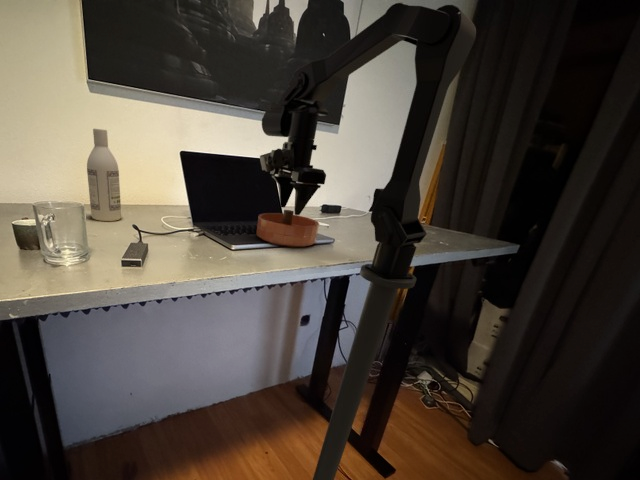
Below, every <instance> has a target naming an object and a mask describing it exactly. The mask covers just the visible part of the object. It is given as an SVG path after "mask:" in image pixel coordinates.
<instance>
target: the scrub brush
mask: <svg viewBox="0 0 640 480" xmlns="http://www.w3.org/2000/svg"><path fill="white" fill-rule="evenodd" d="M282 213H283V219H282V224H286V225H292V219H293V215H294V214H295V210H290V209H284V210H283V212H282Z"/></svg>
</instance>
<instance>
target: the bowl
mask: <svg viewBox="0 0 640 480" xmlns="http://www.w3.org/2000/svg"><path fill="white" fill-rule="evenodd" d="M282 219H283V212H281V213H280V212H266V213H265V212H263V213H260V214H258V218H257V225H256V234H255V235H256V236H257V237H258V238H259V239H261V240H262V241H264V242H267V243H269V244H272V245H276V246H281V247H290V248H304V247H308V246H312V245H314V244H315V243H316V242H317V238H318V233H319V227H320V222H319V221H317V220H315V219H312V218H309V217H307V216H303V215H295V214H293V219H292V225H286V224H282Z"/></svg>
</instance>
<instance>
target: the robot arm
mask: <svg viewBox="0 0 640 480" xmlns="http://www.w3.org/2000/svg"><path fill="white" fill-rule="evenodd" d="M476 38H477V28H476V25H475V24H474V22H473V21H472V20H471V19H470V18H469V17H468V16H467V15H466V14H465V13H464V12H463V11H462V10H461V9H460V8H459V6H456V5H454V4H445V5H442V6H439V7H437V8H436V9H435V8H430V7H426V6H423V5H409V4H406V3H405V2H396V3H394V4H391V5H390V6H389V7H388V8H387V10H386V12H385V13H384V14H383V15H381V16H380V17H378V18H377V19H376V20H374V21H373V22H372V23H371V24H369V25H368V26H367V27H365V28H364V29H363V30H361V31H360V32H359V33H357V34H356V35H354V36H353V37H352V38H350V40H348V41H347V42H345V43H344V44H343V45H341V46H340V47H338V48H337V49H336V50H334V51H333V52H332V53H331V54H330V55H328V56H326V57H324V58H323V57H322V58H319V59H316V60H311V61H310V62H309V61H308V63H306V64H304V65H302V66H300V67H298V68H297V69H296V70H295V71H294V73H293V74H292V78H291V80H290V81H289V83H288V85H287V87H286V88H285V90H284V92H283V93H282V95H281V97H280V99H279V100H278V102H270V105H269V109H267V110H266V111H265V112H264V114H263V116H262V118H261V128H262V131H263V133H264V134H265V135H266V136H268V137H278V138H279V137H280V138H287V141H284V142H283V144H282V148H279V147H278V148H276V149H272V150H270V152H266V153H264V154H261V155H259V160H260V166H261V170H262V171H265V172H267V173H269V174H270V175H271V178H272V179H273V180H274V181H275V183H277V188H278V197H279V205H280V208H286V206H287V204H288V202H289V200H290V197H291V195H292V193H293V191H295V193H294V215H298V216H301V213H302V212H303V211H304V209H305V208H306V206H307V204H308V203H309V202H310V200H311V199H312V197H314V195H315V194H316V192H317V191H318V189H321V187H322V185H325V183H326V178H327V173H326V172H325V170H324V169H321V168H315V167H314V165H313V164H311V162H312V156H313V151H317V147H318V145H317V144H315V138H316V134H317V133H316V132H317V127H318V121H319V116H320V117H322V116H323V117H324V116H326V117H327V116H328V115H329V111H328V110H327V109H326V107H325V106H324V102H323V101H325V100H326V99H327V98H329V96H331V94H332V93H334V92H335V90H336V88H337V86H338V84H339V83H340V82H342V81H343V80H344V79H346V78H347V77H348V76H350V75H351V74H353V73H354V72H356V71H357V70H359V69H360V68H362V67H363V66H365V65H366V64H368V63H370V62H371V61H373V60H374V59H376V58H377V57H378V56H380V55H381V54H383V53H385V52H386V51H387V50H389V49H391V48H393V47H394V46H395V45H397V44H398V43H400V42H405V43H409V44H411V45H413V46H415V53H414V70H415V88H414V91H413V95H412V99H411V103H410V107H409V110H408V113H407V117H406V121H405V124H404V128H403V132H402V136H401V139H400V143H399V147H398V150H397V154H396V158H395V161H394V165H393V169H392V173H391V176H390V178H389V181H388V182H387V183H386V185H385V186H384V187H383V188H375V189H374V192H373V197H372V203H371V206H370V208H369V209H368V213H370V223H371V224H372V225H373V228H374V240H375V242H378V244H377V245H376V248H375V252H374V254H373V258H372V262H371V264H372V265H365V264H364V265H365V267H366V268H367V269H369V270H370V271H372V272H374V273H375V274H377V275H379V276H380V277H382V278H384V279H413V276H412V275H413V274H412V275H410V274H408V272H409V270H410V269H411V265H412V262H413V259H414V256H415V253H416V250H417V248H418V247H417V246H416V245H415V244H420V243H421V242H422V241H423V240H424V239H425V237H426V236H427V231H426V229H425V228H424V226H423V224H422V223H421V220H420V219H419V213H420V208H421V199H422V198H421V187H420V181H421V177H422V174H423V171H424V167H425V164H426V162H427V158H428V154H429V152H430V148H431V145H432V141H433V138H434V135H435V133H436V129H437V125H438V123H439V119H440V116H441V112H442V109H443V106H444V102H445V99H446V96H447V93H448V90H449V88H450V86H451V84H452V83H453V81H454V80H455V78H456V77H457V75H458V74H459V73H460V71H461V69H462V68H463V67H464V64H465V63H466V60H467V59H468V56H469V55H470V52H471V50H472V48H473V46H474V43H475V41H476Z"/></svg>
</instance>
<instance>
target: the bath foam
mask: <svg viewBox="0 0 640 480" xmlns="http://www.w3.org/2000/svg"><path fill="white" fill-rule="evenodd" d="M92 135H93V145H94V146H93V148H92V150H91V151H90V153H89V154H88V158H87V162H86V174H87V185H88V194H89V206H90V215H91V218H92V219H93V220H97V221H101V222H102V221H103V222H114V221H115V222H116V221H120V220H121V218H122V207H121V205H122V204H121V188H120V187H121V186H120V170H119V165H118V162H117V160H116V157H115V156H114V154H113V153H112V151H111V150H110V148H109V139H108V130H107V129H102V128H101V129H100V128H93V129H92Z"/></svg>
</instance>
